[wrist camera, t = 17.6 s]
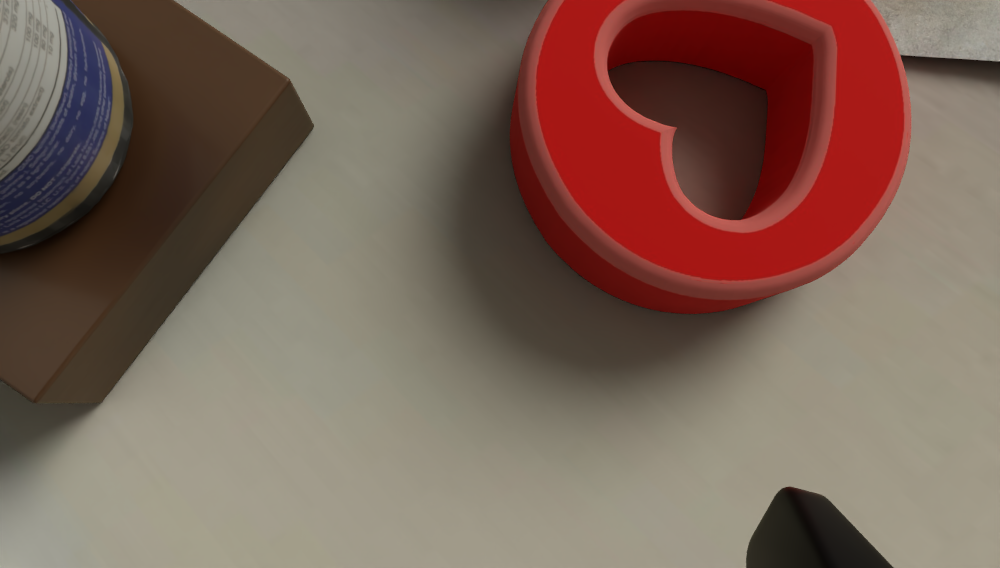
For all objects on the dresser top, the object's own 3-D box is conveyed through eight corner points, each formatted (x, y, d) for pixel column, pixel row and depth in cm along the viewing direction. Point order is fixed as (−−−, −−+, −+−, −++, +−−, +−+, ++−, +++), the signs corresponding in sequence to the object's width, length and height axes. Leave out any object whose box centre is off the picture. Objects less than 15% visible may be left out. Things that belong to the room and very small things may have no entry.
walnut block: (101, 404, 19) (34, 405, 16) (-181, 205, 19) (-299, 169, 16) (316, 126, 20) (291, 78, 17) (50, -54, 20) (-19, -131, 17)
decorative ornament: (911, 106, 21) (990, 55, 18) (735, 384, 20) (788, 381, 16) (634, -80, 22) (664, -161, 18) (440, 178, 20) (437, 137, 17)
